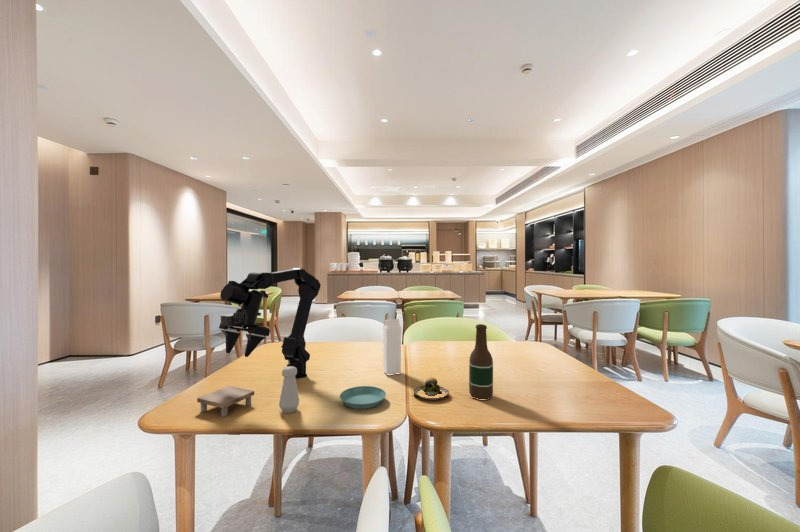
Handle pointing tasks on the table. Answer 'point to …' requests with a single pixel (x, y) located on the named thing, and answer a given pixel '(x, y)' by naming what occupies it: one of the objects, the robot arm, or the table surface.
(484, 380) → the beer bottle
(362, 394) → the saucer
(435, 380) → the plate of food
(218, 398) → the small stand
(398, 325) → the milk
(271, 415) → the table surface
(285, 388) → the salt shaker
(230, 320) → the robot arm
